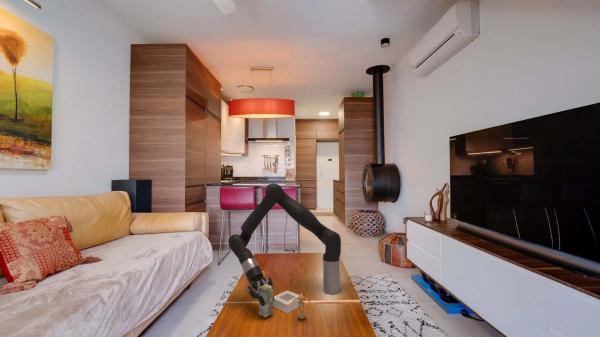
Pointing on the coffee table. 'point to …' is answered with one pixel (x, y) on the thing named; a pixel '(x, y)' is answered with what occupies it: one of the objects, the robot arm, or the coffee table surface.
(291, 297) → the white well block
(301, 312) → the figurine
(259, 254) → the coffee table surface
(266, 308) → the green metallic peg
